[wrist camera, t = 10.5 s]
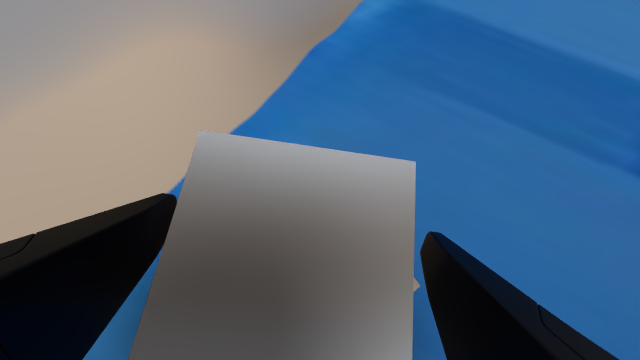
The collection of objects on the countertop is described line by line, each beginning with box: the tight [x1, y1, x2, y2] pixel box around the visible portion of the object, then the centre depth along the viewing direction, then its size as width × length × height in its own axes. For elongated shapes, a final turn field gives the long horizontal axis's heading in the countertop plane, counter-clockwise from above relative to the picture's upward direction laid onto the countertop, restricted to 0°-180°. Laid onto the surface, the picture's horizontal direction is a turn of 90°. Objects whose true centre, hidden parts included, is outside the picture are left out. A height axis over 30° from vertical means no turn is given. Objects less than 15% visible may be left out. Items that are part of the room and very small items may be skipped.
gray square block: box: [128, 130, 416, 360], centre depth 11 cm, size 5×5×12 cm
